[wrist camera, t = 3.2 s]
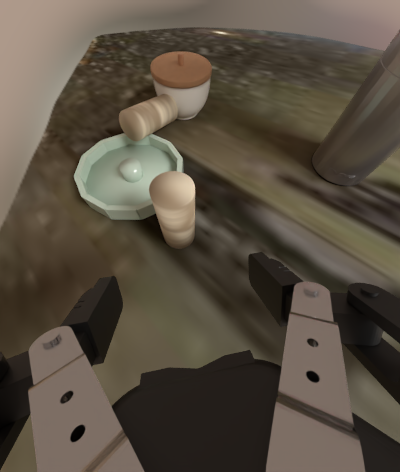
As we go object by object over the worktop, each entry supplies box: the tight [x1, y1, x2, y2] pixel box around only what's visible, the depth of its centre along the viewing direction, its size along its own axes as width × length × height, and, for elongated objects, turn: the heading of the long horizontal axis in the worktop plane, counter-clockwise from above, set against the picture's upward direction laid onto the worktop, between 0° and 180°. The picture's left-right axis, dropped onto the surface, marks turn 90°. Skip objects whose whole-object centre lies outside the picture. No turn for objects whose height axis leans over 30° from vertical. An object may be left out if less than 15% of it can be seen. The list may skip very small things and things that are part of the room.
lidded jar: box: [151, 52, 212, 120], centre depth 36 cm, size 11×11×9 cm
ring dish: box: [74, 133, 183, 220], centre depth 30 cm, size 16×16×3 cm
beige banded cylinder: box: [119, 94, 178, 141], centre depth 32 cm, size 4×4×10 cm
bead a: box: [149, 171, 195, 249], centre depth 23 cm, size 4×4×10 cm
